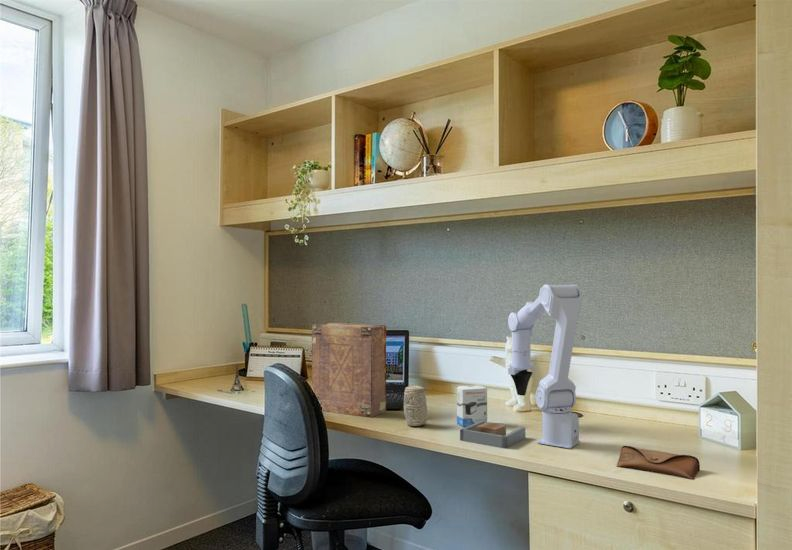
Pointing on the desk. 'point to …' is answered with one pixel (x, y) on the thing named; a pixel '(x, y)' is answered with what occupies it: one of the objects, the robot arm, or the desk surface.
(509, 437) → the box
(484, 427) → the brown wooden block
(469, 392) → the ink box
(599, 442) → the desk surface
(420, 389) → the carving
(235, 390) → the eiffel tower figurine
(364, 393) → the book
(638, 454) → the sunglasses case
